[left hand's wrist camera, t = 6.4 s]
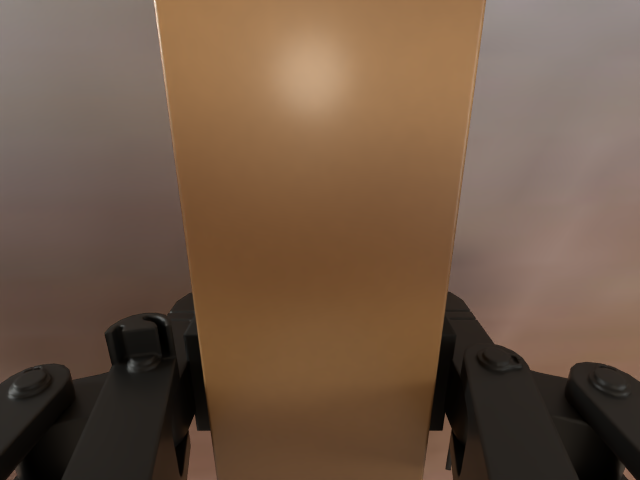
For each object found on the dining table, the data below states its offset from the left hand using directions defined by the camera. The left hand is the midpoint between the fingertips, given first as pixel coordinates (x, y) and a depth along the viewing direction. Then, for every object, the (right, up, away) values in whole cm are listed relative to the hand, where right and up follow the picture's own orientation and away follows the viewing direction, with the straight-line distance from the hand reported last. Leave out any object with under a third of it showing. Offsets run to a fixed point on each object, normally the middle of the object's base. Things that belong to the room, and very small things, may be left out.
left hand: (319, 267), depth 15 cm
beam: (0, +28, -10) cm, 29 cm away
